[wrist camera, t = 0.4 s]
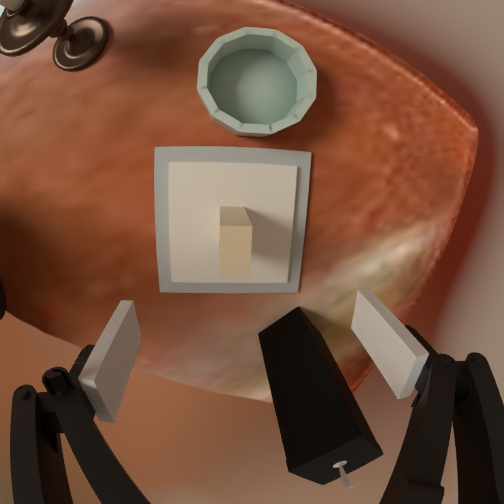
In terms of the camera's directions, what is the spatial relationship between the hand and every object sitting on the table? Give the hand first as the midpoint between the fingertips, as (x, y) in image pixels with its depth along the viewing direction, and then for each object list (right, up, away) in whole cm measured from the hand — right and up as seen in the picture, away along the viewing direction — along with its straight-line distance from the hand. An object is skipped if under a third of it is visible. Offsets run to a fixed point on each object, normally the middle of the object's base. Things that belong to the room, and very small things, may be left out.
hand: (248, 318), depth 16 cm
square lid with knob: (-3, +7, +22) cm, 23 cm away
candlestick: (-24, +33, +11) cm, 42 cm away
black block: (+6, -9, +29) cm, 31 cm away
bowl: (0, +25, +16) cm, 29 cm away
